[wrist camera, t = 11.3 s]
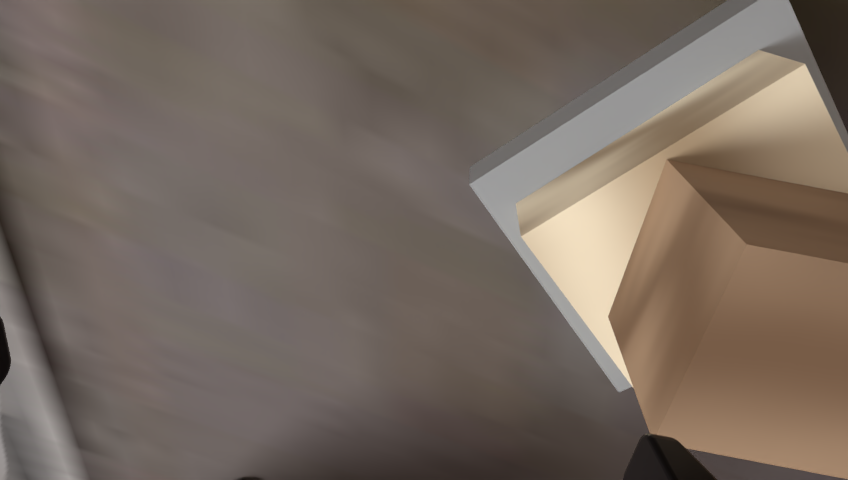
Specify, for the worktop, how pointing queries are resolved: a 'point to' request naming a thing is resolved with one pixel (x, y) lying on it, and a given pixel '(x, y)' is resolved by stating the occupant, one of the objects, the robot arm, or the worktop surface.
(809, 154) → the birch top block
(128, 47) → the worktop surface
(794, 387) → the walnut cube
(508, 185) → the grey base block
